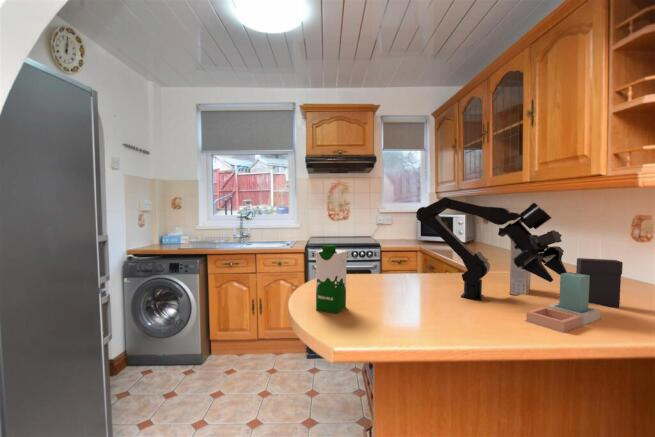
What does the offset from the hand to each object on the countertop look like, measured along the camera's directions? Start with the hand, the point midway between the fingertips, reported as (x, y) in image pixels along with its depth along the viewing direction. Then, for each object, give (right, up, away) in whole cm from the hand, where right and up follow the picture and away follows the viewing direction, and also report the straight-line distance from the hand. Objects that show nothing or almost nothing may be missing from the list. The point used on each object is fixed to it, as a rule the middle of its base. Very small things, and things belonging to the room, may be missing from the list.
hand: (559, 279), depth 95 cm
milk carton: (-67, -10, +6) cm, 68 cm away
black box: (+20, -11, +11) cm, 26 cm away
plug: (+2, -10, -3) cm, 11 cm away
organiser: (-3, -11, -6) cm, 13 cm away
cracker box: (+4, -10, +26) cm, 29 cm away
